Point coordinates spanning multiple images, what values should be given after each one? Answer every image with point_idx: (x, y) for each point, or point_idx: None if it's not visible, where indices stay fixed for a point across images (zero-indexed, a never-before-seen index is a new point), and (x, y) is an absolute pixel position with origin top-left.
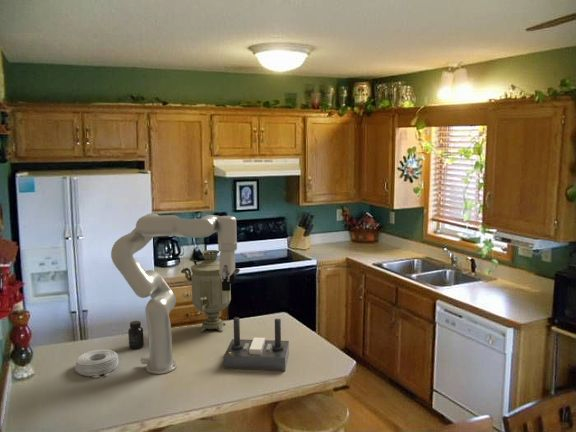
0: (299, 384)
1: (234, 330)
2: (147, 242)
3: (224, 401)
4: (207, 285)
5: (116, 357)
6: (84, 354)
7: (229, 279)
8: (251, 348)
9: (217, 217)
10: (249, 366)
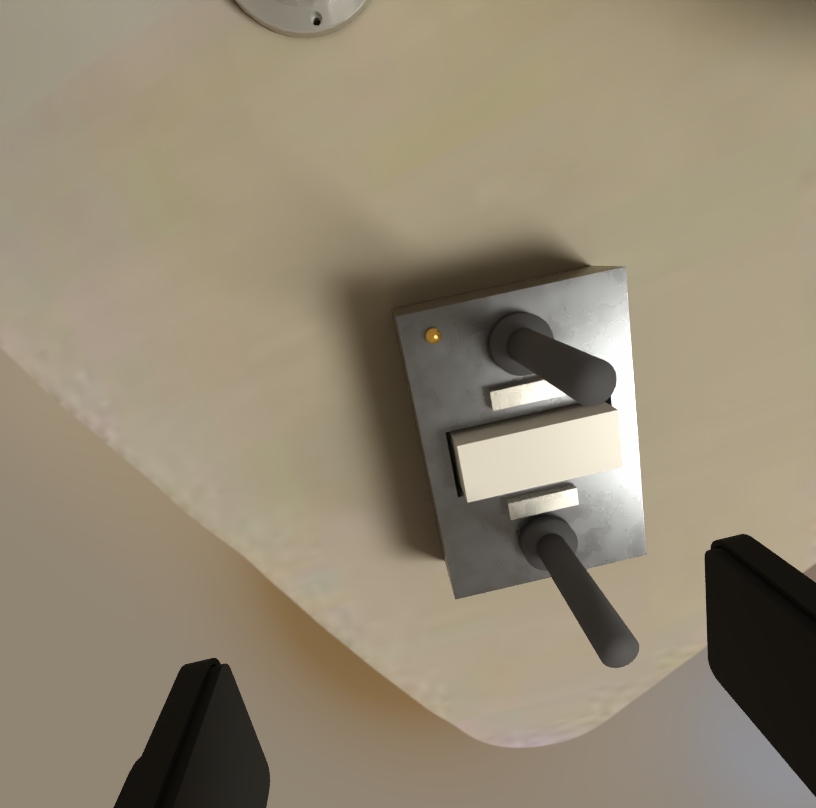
0: (351, 639)
1: (539, 354)
2: None
3: (108, 438)
4: None
5: None
6: None
7: (784, 665)
8: (468, 453)
9: None
10: (417, 429)
